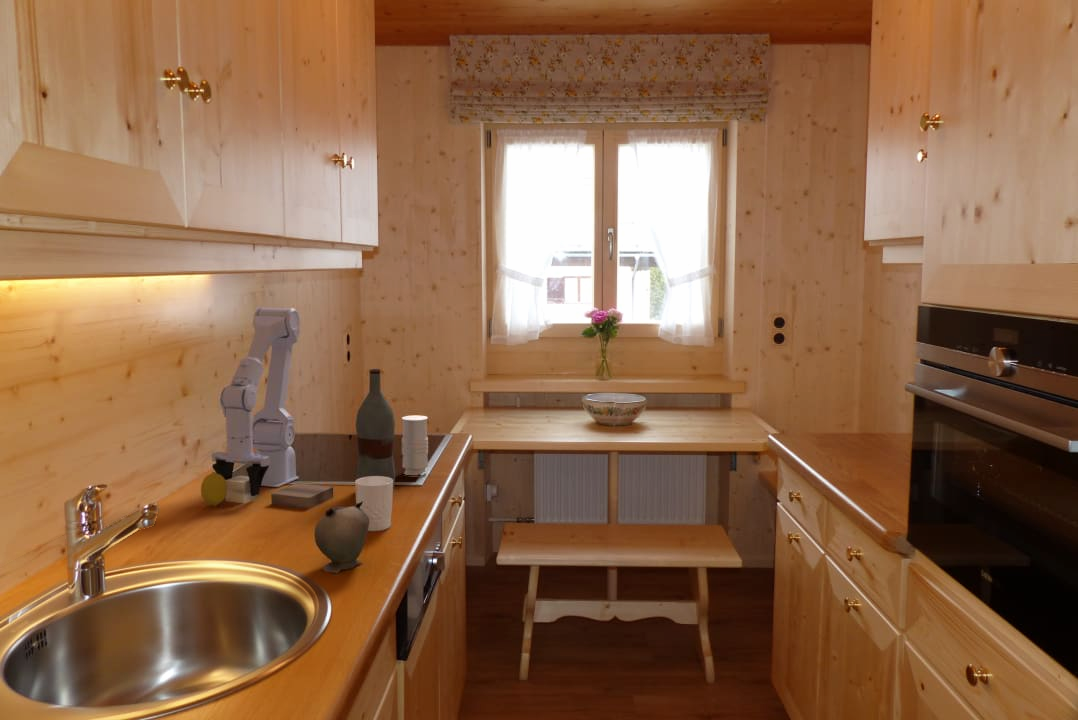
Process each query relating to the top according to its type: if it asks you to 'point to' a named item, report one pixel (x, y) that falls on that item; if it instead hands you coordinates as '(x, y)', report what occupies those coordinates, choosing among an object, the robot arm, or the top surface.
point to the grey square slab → (302, 495)
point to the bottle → (375, 433)
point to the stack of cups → (414, 444)
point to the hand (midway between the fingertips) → (241, 493)
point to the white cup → (375, 500)
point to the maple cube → (239, 489)
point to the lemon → (214, 488)
